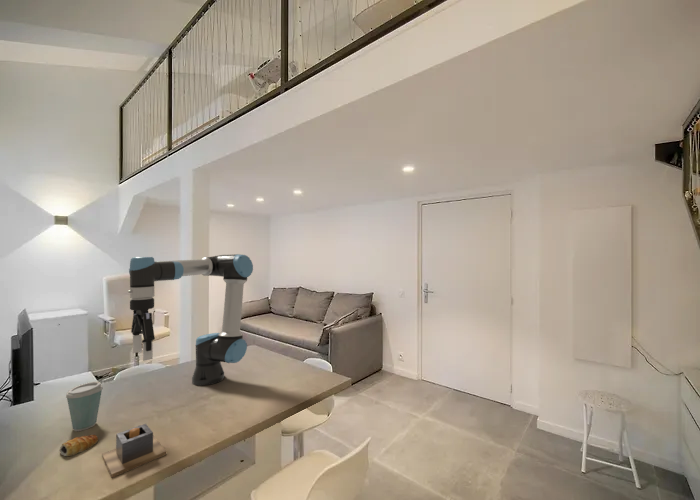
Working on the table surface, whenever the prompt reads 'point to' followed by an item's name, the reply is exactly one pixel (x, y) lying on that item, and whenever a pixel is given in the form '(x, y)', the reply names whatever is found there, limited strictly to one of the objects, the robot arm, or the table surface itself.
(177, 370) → the table surface
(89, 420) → the disposable coffee cup
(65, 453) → the pastry
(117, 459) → the keeper
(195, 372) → the robot arm
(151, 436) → the hollow square block
